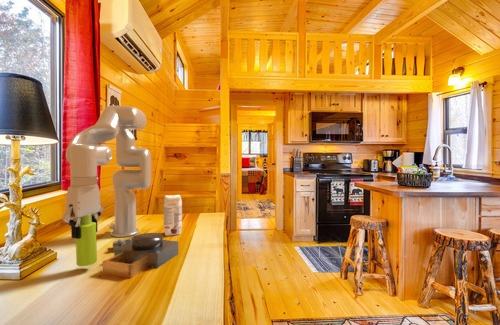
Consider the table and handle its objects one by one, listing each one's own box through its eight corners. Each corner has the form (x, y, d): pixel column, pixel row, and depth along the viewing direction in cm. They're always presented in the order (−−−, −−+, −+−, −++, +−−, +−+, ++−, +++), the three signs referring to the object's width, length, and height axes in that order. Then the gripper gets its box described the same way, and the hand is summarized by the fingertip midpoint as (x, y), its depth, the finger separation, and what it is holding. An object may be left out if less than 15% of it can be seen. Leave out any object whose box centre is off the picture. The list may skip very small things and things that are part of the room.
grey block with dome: (93, 272, 89) (93, 248, 89) (139, 249, 112) (139, 230, 111) (140, 279, 85) (140, 254, 85) (178, 254, 107) (178, 233, 107)
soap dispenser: (79, 259, 94) (77, 202, 93) (100, 258, 94) (98, 202, 93) (69, 266, 88) (67, 206, 87) (91, 266, 89) (90, 205, 87)
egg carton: (111, 253, 108) (111, 243, 108) (113, 247, 115) (113, 237, 115) (140, 250, 112) (140, 240, 111) (140, 244, 119) (140, 235, 118)
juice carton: (182, 235, 132) (182, 196, 132) (163, 236, 130) (164, 197, 129) (180, 230, 140) (180, 194, 139) (163, 232, 137) (163, 195, 136)
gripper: (95, 178, 99) (96, 227, 100) (50, 184, 83) (51, 242, 83) (112, 179, 97) (113, 228, 98) (69, 185, 81) (70, 244, 82)
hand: (84, 234), depth 91 cm, fingers closed on soap dispenser, 5 cm apart
